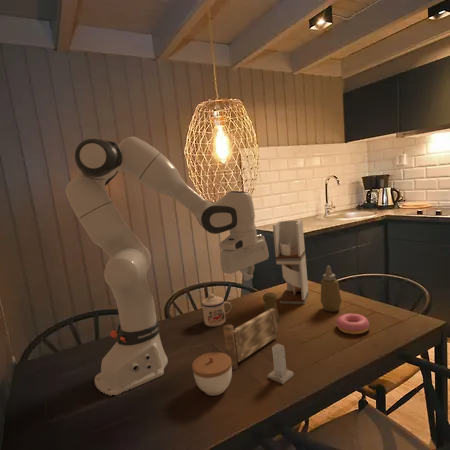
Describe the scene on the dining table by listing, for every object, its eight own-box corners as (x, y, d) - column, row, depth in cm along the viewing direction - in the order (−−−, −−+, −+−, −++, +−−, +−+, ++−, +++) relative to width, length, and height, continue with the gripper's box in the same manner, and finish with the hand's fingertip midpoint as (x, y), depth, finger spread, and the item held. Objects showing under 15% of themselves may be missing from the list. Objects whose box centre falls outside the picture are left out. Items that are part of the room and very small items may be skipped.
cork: (279, 316, 129) (276, 290, 128) (280, 323, 123) (277, 295, 122) (264, 317, 130) (261, 291, 128) (264, 324, 124) (261, 296, 122)
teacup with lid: (207, 329, 125) (203, 300, 124) (201, 320, 134) (198, 293, 132) (236, 321, 129) (233, 293, 127) (228, 313, 138) (225, 287, 136)
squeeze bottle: (317, 308, 133) (313, 265, 131) (333, 303, 135) (330, 262, 133) (329, 315, 126) (325, 270, 123) (346, 310, 128) (343, 266, 125)
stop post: (283, 384, 87) (280, 353, 86) (268, 377, 91) (265, 347, 89) (293, 375, 90) (290, 345, 89) (279, 369, 94) (276, 340, 93)
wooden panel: (238, 362, 98) (234, 332, 97) (234, 360, 99) (231, 330, 98) (278, 335, 112) (275, 308, 110) (274, 334, 113) (271, 308, 111)
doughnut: (353, 319, 120) (353, 308, 119) (377, 330, 110) (376, 319, 109) (329, 327, 116) (329, 316, 116) (352, 339, 106) (351, 327, 105)
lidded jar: (187, 392, 88) (183, 360, 87) (214, 372, 96) (210, 342, 95) (215, 407, 81) (211, 372, 80) (242, 384, 89) (238, 352, 88)
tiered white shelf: (285, 294, 153) (279, 221, 148) (308, 294, 149) (302, 219, 144) (280, 303, 143) (272, 225, 138) (304, 304, 138) (297, 223, 134)
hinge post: (232, 371, 95) (227, 330, 94) (225, 368, 98) (220, 327, 96) (239, 366, 98) (235, 326, 96) (232, 363, 100) (228, 323, 98)
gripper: (257, 232, 117) (261, 269, 118) (215, 245, 103) (220, 286, 105) (270, 233, 112) (274, 271, 114) (229, 246, 98) (234, 289, 100)
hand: (248, 279), depth 109 cm, fingers closed
